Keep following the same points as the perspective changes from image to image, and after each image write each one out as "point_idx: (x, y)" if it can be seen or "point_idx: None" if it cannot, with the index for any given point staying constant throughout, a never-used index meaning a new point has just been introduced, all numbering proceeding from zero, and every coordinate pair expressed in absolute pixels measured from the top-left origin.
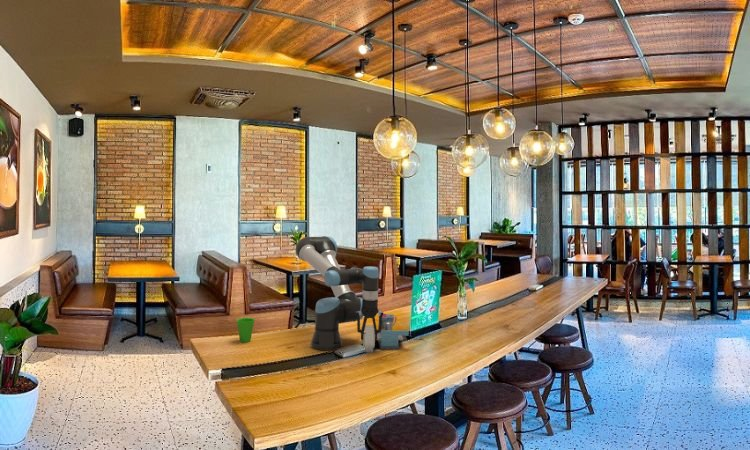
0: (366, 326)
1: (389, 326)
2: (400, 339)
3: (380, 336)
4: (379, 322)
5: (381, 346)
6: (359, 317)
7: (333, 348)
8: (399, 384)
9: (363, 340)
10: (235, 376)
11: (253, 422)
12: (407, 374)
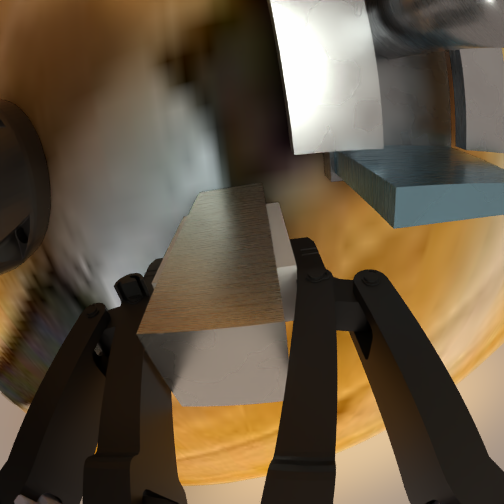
0: (180, 377)
1: (492, 46)
2: (488, 149)
3: (351, 89)
4: (390, 430)
5: (338, 178)
6: (77, 493)
7: (36, 248)
8: (336, 440)
9: None
10: (20, 403)
11: None
12: (374, 408)
